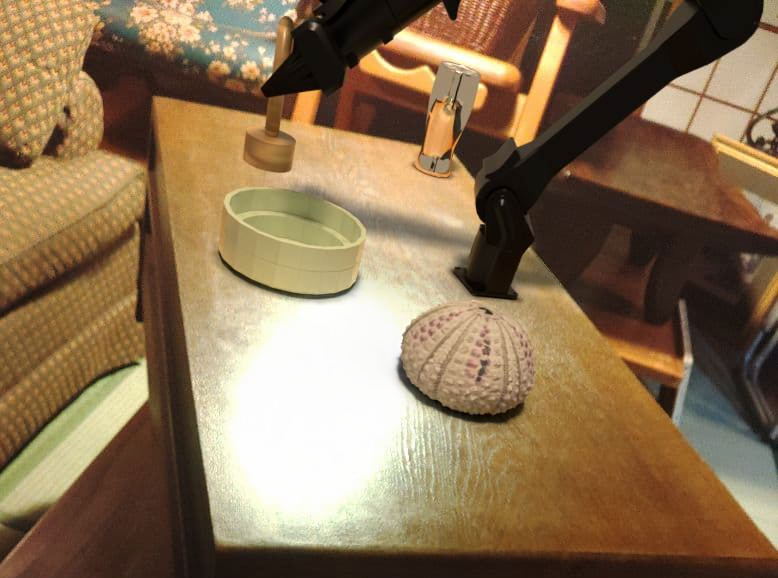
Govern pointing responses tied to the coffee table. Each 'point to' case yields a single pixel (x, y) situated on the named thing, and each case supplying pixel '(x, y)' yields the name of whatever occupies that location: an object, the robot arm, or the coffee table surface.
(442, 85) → the beer glass
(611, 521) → the coffee table surface
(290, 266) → the bowl
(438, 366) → the sea urchin shell
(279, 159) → the wooden stamp
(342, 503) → the coffee table surface
